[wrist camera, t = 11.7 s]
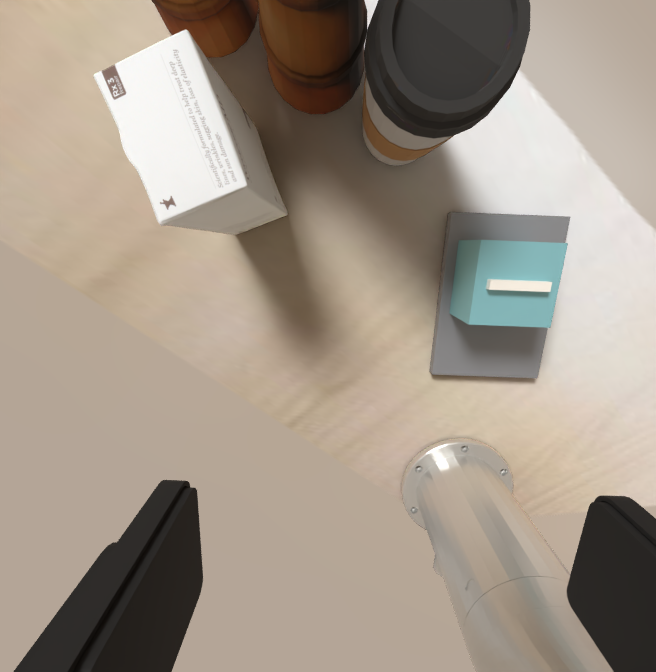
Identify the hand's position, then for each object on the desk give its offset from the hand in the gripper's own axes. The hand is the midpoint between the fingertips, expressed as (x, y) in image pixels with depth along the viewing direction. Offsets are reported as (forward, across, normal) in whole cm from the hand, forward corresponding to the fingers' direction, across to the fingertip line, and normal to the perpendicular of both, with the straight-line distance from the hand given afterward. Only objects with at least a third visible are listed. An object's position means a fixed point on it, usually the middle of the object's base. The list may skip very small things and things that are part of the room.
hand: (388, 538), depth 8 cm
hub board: (+28, -15, -2) cm, 32 cm away
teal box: (+27, -14, -4) cm, 31 cm away
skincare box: (+28, +10, -12) cm, 32 cm away
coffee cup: (+28, -4, -17) cm, 33 cm away
